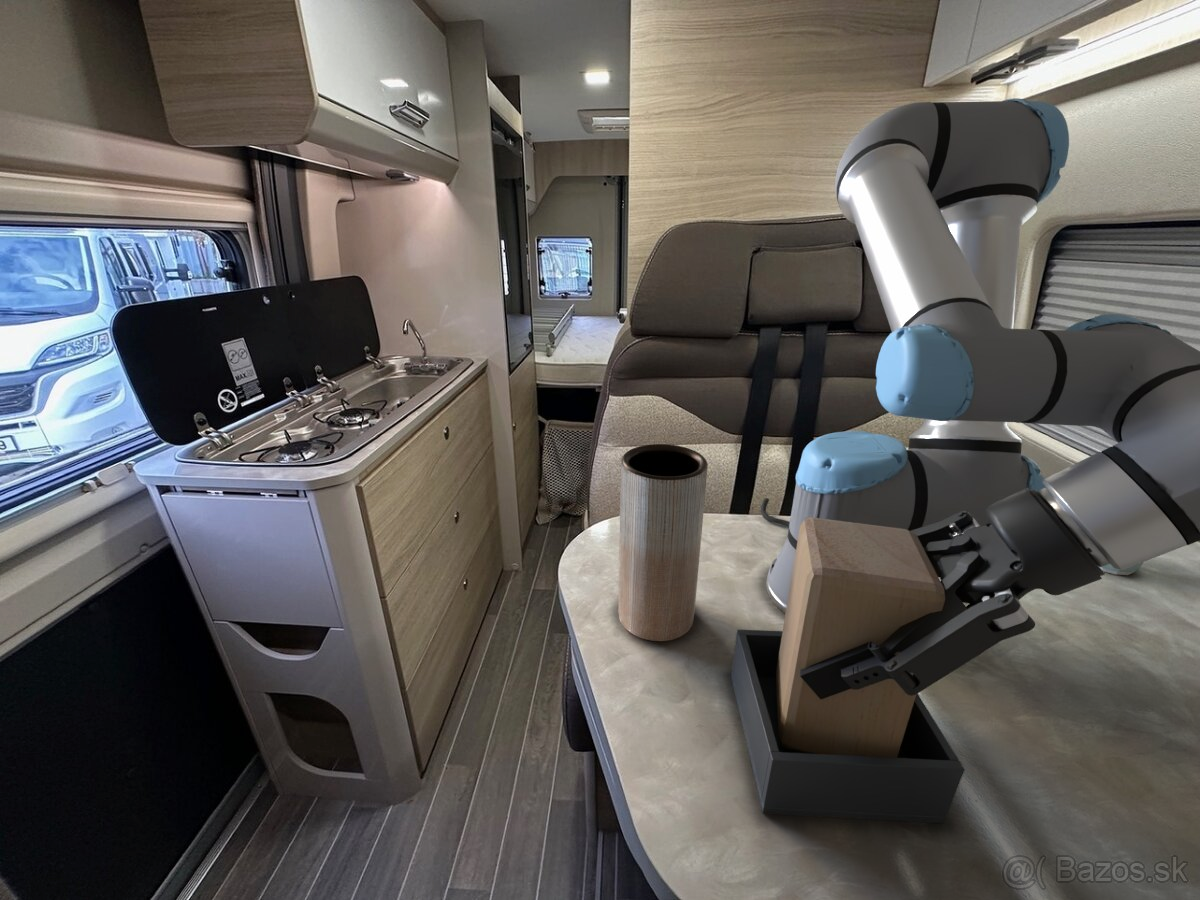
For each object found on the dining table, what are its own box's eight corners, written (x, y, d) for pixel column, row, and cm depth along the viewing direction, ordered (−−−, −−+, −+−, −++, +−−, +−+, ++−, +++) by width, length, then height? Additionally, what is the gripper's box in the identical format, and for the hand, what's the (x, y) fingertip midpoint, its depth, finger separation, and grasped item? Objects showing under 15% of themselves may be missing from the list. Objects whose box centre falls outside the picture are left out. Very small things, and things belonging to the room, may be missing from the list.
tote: (730, 675, 61) (737, 629, 58) (869, 681, 60) (881, 634, 58) (762, 813, 47) (772, 760, 44) (944, 823, 46) (965, 769, 43)
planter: (607, 601, 73) (608, 449, 64) (672, 585, 76) (682, 439, 68) (636, 651, 65) (642, 484, 56) (708, 631, 68) (724, 470, 59)
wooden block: (874, 691, 56) (917, 526, 48) (895, 779, 47) (953, 593, 39) (774, 672, 58) (800, 511, 50) (777, 752, 49) (809, 572, 42)
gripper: (1202, 680, 29) (841, 778, 40) (1045, 497, 49) (833, 596, 60) (1116, 578, 29) (777, 706, 40) (994, 435, 49) (791, 547, 60)
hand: (811, 640), depth 50 cm, fingers closed on wooden block, 11 cm apart
